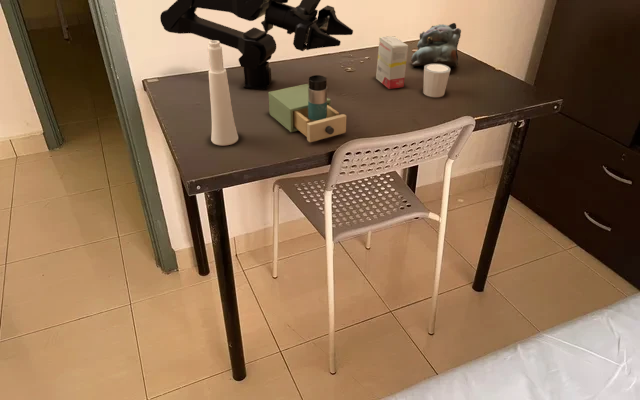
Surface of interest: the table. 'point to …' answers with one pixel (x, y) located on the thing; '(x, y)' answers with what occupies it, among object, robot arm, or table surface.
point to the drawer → (319, 124)
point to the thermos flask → (317, 98)
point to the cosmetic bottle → (220, 99)
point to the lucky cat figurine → (438, 46)
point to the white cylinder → (435, 79)
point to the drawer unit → (289, 104)
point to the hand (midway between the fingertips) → (346, 37)
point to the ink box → (391, 62)
